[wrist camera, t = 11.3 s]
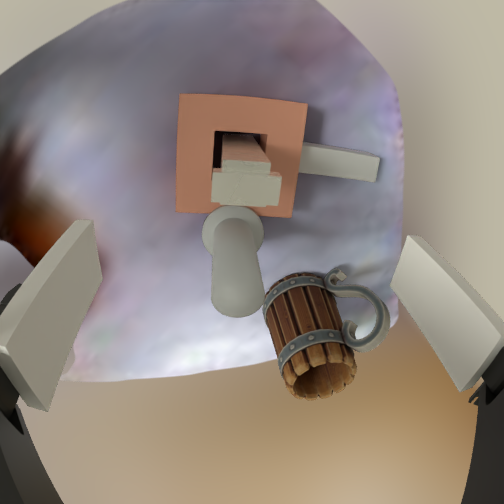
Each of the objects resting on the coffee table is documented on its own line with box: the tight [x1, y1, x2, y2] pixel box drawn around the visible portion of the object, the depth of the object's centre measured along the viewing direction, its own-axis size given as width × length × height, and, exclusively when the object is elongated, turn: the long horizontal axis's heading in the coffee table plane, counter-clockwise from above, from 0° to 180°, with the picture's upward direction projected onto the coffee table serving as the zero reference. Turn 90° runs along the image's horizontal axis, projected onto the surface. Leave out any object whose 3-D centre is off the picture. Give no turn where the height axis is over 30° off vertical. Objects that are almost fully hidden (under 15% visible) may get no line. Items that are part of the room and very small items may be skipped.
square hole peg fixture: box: [176, 94, 380, 318], centre depth 27 cm, size 22×17×16 cm
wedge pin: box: [211, 133, 282, 207], centre depth 26 cm, size 4×3×15 cm
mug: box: [263, 268, 390, 400], centre depth 36 cm, size 16×11×15 cm
